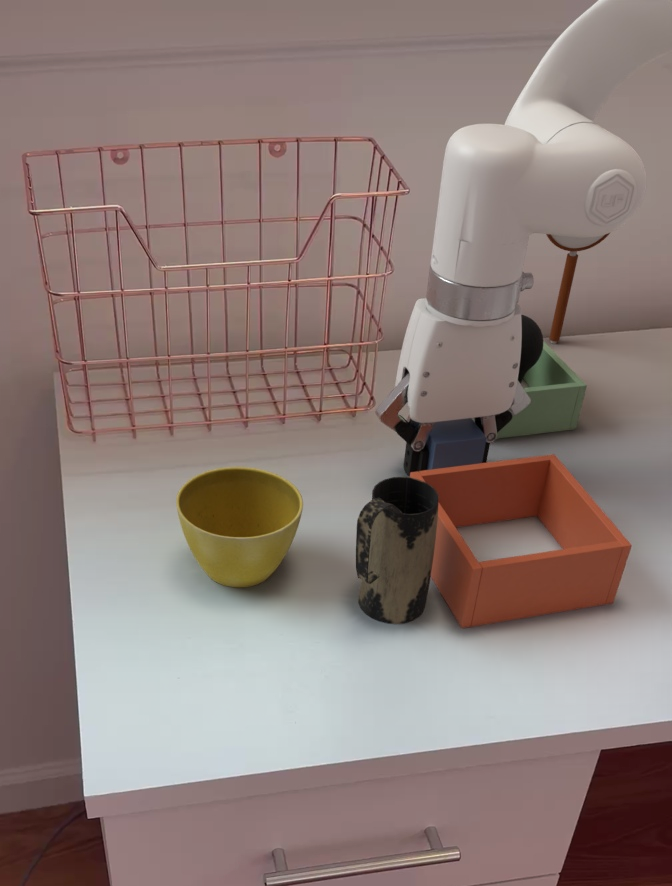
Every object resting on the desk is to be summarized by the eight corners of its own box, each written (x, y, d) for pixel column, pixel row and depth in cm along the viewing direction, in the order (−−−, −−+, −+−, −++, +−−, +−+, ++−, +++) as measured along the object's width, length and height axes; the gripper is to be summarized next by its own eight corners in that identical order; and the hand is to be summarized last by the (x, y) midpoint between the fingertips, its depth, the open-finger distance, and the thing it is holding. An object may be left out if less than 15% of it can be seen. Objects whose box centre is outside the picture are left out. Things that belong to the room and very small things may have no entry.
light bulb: (536, 402, 109) (556, 313, 102) (518, 427, 105) (538, 335, 99) (484, 388, 111) (500, 299, 104) (465, 411, 107) (480, 320, 100)
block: (456, 464, 100) (465, 410, 96) (476, 493, 97) (487, 437, 93) (408, 470, 99) (415, 415, 95) (427, 499, 96) (435, 443, 92)
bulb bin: (526, 380, 114) (536, 333, 110) (574, 434, 106) (587, 385, 102) (428, 390, 111) (435, 342, 107) (471, 447, 103) (479, 396, 99)
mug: (385, 576, 87) (400, 454, 79) (439, 606, 84) (460, 482, 76) (325, 621, 82) (335, 497, 74) (380, 654, 80) (396, 528, 72)
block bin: (539, 515, 95) (554, 453, 90) (611, 608, 85) (632, 545, 81) (401, 535, 91) (409, 471, 87) (460, 634, 82) (473, 569, 77)
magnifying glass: (585, 343, 122) (628, 165, 108) (590, 350, 120) (634, 171, 107) (514, 344, 120) (549, 165, 107) (518, 351, 119) (554, 171, 106)
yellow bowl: (279, 527, 91) (281, 458, 87) (315, 598, 84) (320, 527, 80) (167, 545, 89) (163, 475, 84) (195, 619, 82) (193, 547, 77)
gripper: (544, 265, 90) (508, 445, 102) (361, 279, 86) (345, 465, 98) (585, 302, 85) (541, 487, 97) (391, 318, 81) (371, 509, 93)
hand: (443, 474), depth 98 cm, fingers closed on block, 5 cm apart
